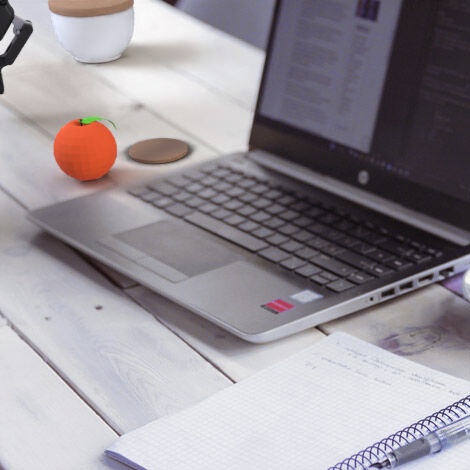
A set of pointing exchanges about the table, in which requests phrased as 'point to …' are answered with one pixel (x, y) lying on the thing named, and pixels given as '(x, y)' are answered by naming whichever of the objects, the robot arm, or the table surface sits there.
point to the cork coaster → (158, 150)
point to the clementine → (85, 149)
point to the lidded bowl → (93, 27)
